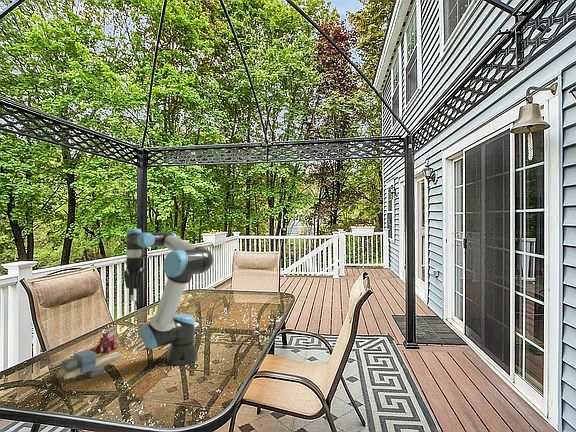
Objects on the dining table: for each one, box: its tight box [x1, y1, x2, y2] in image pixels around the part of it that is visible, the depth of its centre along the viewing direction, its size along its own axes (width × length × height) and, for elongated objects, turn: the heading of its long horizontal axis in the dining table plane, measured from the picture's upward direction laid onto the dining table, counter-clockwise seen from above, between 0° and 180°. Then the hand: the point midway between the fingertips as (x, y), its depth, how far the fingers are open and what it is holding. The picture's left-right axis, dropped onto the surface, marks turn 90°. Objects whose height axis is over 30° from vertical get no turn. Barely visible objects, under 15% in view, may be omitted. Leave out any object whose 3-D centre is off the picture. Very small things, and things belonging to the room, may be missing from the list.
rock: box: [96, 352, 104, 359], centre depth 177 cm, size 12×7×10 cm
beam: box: [61, 351, 123, 380], centre depth 166 cm, size 7×26×10 cm, turn 149°
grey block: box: [73, 349, 97, 373], centre depth 162 cm, size 7×6×7 cm
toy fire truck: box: [95, 329, 118, 354], centre depth 196 cm, size 7×12×10 cm, turn 172°
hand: (133, 300), depth 191 cm, fingers closed
